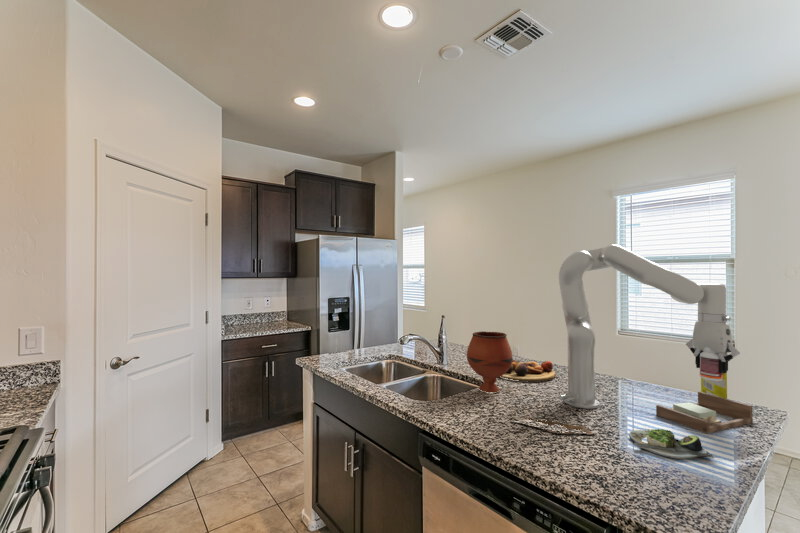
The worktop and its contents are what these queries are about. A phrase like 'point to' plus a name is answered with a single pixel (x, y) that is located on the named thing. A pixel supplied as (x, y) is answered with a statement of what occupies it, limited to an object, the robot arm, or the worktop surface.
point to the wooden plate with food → (530, 371)
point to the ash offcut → (702, 418)
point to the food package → (715, 387)
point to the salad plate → (669, 444)
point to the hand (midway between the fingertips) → (711, 369)
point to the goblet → (489, 357)
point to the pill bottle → (710, 365)
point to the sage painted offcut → (694, 410)
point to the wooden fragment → (565, 426)
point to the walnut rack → (716, 404)
